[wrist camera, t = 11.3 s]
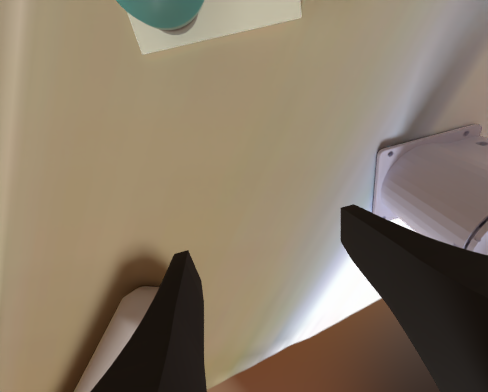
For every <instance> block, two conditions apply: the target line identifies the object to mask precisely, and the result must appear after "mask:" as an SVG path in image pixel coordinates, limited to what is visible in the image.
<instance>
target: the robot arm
mask: <svg viewBox="0 0 488 392" xmlns="http://www.w3.org/2000/svg"><path fill="white" fill-rule="evenodd" d="M481 130H482V127H481V125H478V124H473V125H470V126H466V127H462V128H458V129H455V130H451V131H447V132H443V133H440V134H436V135H432V136H428V137H425V138H421V139H417V140H413V141H410V142H406V143H402V144H398V145H395V146H391V147H387V148H383V149H381V150H380V151H379V152H378V155H377V165H376V176H375V188H374V200H373V212H372V213H371V212H369V211H367V210H365V209H363V208H360V207H358V206H356V205H350V206H346V207H342V208H341V242H342V244H343V246H344V248H345V249H346V251H347V253H348V254H349V256H350V257H351V259H352V260H353V262H354V263H355V264H356V266H357V267H358V268H359V269H360V271H361V272H362V273H363V275H364V276H365V277H366V278H367V280H368V281H369V282H370V283H371V285H372V286H373V287H374V288H375V290H376V291H377V292H378V293H379V295H380V296H381V297H382V298H383V300H384V301H385V302H386V304H387V305H388V306H389V308H390V309H391V311H392V312H393V314H394V315H395V317H396V318H397V320H398V321H399V323H400V325H401V326H402V328H403V329H404V331H405V332H406V334H407V336H408V337H409V339H410V341H411V342H412V344H413V345H414V347H415V349H416V350H417V352H418V354H419V355H420V357H421V359H422V360H423V362H424V364H425V365H426V367H427V369H428V371H429V372H430V374H431V376H432V377H433V379H434V381H435V383H436V385H437V386H438V388H439V390H440V392H488V138H485V137H481V136H480V133H481ZM390 151H391V152H390ZM389 152H390V154H389V155H388V153H389ZM396 218H400V219H401V220H402V221H403V222H405V223H406V224H407V225H408V226H410V227H411V228H412V229H413V230H414V231H416V232H414V231H411V230H409V229H407V228H404V227H402V226H400V225H397V224H395V223H393V222H391V221H389V220H392V219H396ZM90 392H207V390H206V379H205V368H204V300H203V291H202V284H201V279H200V277H199V275H198V272H197V270H196V268H195V265H194V263H193V261H192V258H191V256H190V253H189V251H188V250H187V251H184V252H180V253H177V254H174V256H173V258H172V260H171V263H170V265H169V267H168V270H167V272H166V274H165V276H164V279H163V281H162V283H161V285H160V287H159V289H158V291H157V293H156V295H155V297H154V299H153V301H152V303H151V304H150V306H149V308H148V310H147V312H146V313H145V315H144V317H143V319H142V320H141V322H140V324H139V325H138V327H137V329H136V330H135V332H134V333H133V335H132V336H131V338H130V340H129V341H128V343H127V344H126V345H125V347H124V348H123V350H122V351H121V352H120V354H119V355H118V357H117V358H116V359H115V361H114V362H113V363H112V365H111V366H110V368H109V369H108V370H107V372H106V373H105V374H104V375H103V377H102V378H101V379H100V380H99V381H98V383H97V384H96V385H95V386H94V388H93V389H92V390H91V391H90Z"/></svg>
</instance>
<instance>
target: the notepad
mask: <svg viewBox="0 0 488 392" xmlns="http://www.w3.org/2000/svg"><path fill="white" fill-rule="evenodd" d="M127 13H128V12H127ZM128 16H129V19H130V22H131V25H132V27H133V30H134V33H135V36H136V39H137V41H138V44H139V47H140V50H141V53H142V55H144V54H148V53H152V52H157V51H161V50H165V49H170V48H174V47H178V46H183V45H187V44H191V43H196V42H200V41H204V40H208V39H213V38H217V37H221V36H226V35H230V34H234V33H239V32H243V31H247V30H252V29H256V28H260V27H265V26H269V25H273V24H277V23H282V22H286V21H290V20H295V19H299V18H302V13H301V0H204V3H203V5H202V8H201V9H200V11H199V13H198V17H197V20H196V22H195V24H194V25H193V27H192V28H191V29H190V30H189V31H187V32H186V33H184V34H181V35H170V34H167V33H164V32H163V31H161V30H159V29H157V28H153V27H151V26H149V25H147V24H145V23H143V22H141V21H140V20H138V19H136V18H135V17H133V16H132V15H131V14H129V13H128Z"/></svg>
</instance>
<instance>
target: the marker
mask: <svg viewBox="0 0 488 392" xmlns="http://www.w3.org/2000/svg"><path fill="white" fill-rule="evenodd" d="M116 1H117V2H118V3H119V4H120V5H121V6H122V7H123V8H124V9H125V10H126V11H127V12H128V13H129V14H131V15H132V16H133V17H135V18H136V19H138V20H140V21H141V22H143V23H145V24H147V25H149V26H151V27H153V28H157V29H159V30H161V31H163V32H164V33H167V34H170V35H181V34H184V33H186V32H187V31H189V30H190V29H191V28H192V27H193V25H194V24H195V22H196V20H197V17H198V13H199V11H200V9H201V8H202V5H203V3H204V0H116Z"/></svg>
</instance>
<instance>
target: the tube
mask: <svg viewBox="0 0 488 392" xmlns="http://www.w3.org/2000/svg"><path fill="white" fill-rule="evenodd" d="M158 289H159V287H150V286H143V287H139V288H137V289H135V290H134V291H132V292H131V293H129V294H128V295H126V296H125V297H123V298H122V300H121V302H120V304H119V306H118V308H117V310H116V312H115V314H114V315H113V317H112V319H111V321H110V323H109V325H108V327H107V329H106V331H105V333H104V335H103V337H102V338H101V340H100V342H99V344H98V346H97V348H96V350H95V352H94V354H93V356H92V358H91V360H90V361H89V363H88V365H87V367H86V369H85V371H84V373H83V375H82V377H81V379H80V381H79V382H78V384H77V386H76V388H75V390H74V392H90V391H91V390H92V389H93V388H94V386H95V385H96V384H97V383H98V381H99V380H100V379H101V378H102V377H103V375H104V374H105V373H106V372H107V370H108V369H109V368H110V366H111V365H112V363H113V362H114V361H115V359H116V358H117V357H118V355H119V354H120V352H121V351H122V350H123V348H124V347H125V345H126V344H127V343H128V341H129V340H130V338H131V336H132V335H133V333H134V332H135V330H136V329H137V327H138V325H139V324H140V322H141V320H142V319H143V317H144V315H145V313H146V312H147V310H148V308H149V306H150V304H151V303H152V301H153V299H154V297H155V295H156V293H157V291H158Z"/></svg>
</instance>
